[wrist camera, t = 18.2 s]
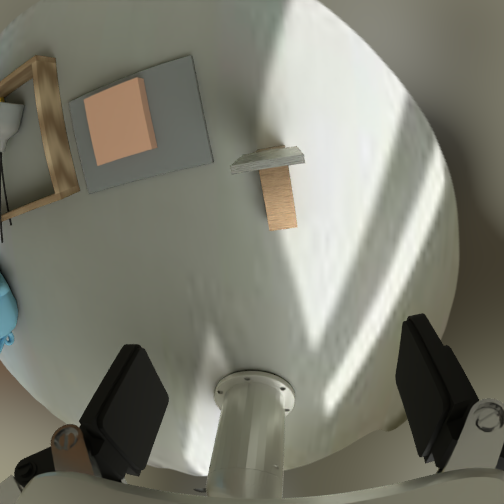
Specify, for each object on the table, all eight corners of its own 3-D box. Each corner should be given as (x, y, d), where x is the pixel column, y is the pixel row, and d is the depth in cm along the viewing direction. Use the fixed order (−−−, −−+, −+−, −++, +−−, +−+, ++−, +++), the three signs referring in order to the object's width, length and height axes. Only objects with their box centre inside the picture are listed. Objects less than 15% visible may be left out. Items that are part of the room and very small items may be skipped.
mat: (213, 162, 31) (212, 162, 31) (91, 193, 34) (88, 194, 33) (192, 56, 27) (190, 55, 26) (71, 102, 29) (68, 102, 29)
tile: (151, 149, 29) (137, 77, 26) (97, 166, 30) (83, 99, 27) (158, 147, 31) (144, 78, 28) (105, 163, 32) (91, 99, 29)
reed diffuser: (8, 97, 24) (-13, 249, 30) (49, 103, 30) (24, 241, 36) (-14, 95, 26) (-33, 224, 32) (20, 99, 33) (-1, 218, 38)
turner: (295, 143, 30) (306, 217, 33) (246, 151, 31) (260, 223, 34) (303, 154, 20) (317, 262, 23) (229, 165, 20) (251, 271, 23)
